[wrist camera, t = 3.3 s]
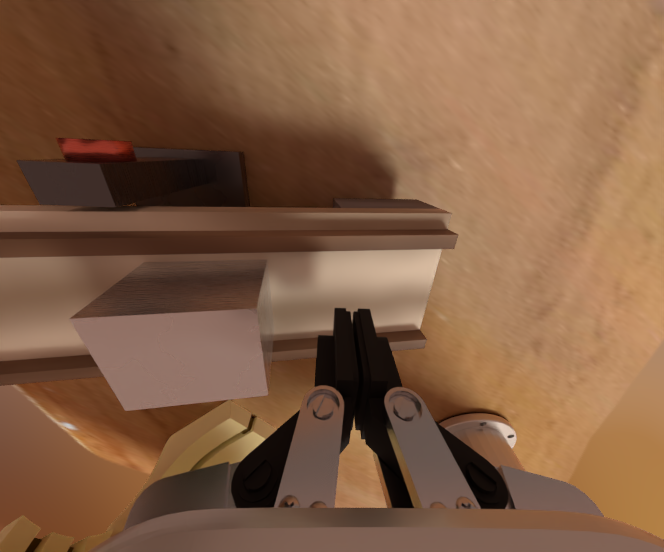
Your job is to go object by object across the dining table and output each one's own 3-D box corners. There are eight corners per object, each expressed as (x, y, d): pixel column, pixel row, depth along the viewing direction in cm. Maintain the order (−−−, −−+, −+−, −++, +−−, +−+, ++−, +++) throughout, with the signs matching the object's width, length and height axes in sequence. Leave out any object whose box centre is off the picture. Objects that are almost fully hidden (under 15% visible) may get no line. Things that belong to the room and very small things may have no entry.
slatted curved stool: (100, 416, 31) (-139, 691, 15) (170, 362, 26) (-69, 676, 11) (266, 494, 42) (228, 699, 26) (335, 465, 37) (340, 693, 22)
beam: (393, 313, 21) (424, 362, 16) (-73, 342, 16) (-235, 428, 11) (416, 199, 17) (470, 220, 12) (-230, 190, 11) (-629, 220, 6)
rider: (274, 331, 15) (268, 395, 11) (171, 338, 14) (125, 411, 10) (267, 259, 13) (256, 308, 9) (143, 262, 12) (68, 318, 8)
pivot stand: (264, 322, 24) (230, 408, 16) (183, 320, 23) (109, 406, 16) (242, 147, 16) (160, 142, 8) (126, 141, 16) (-70, 131, 8)
